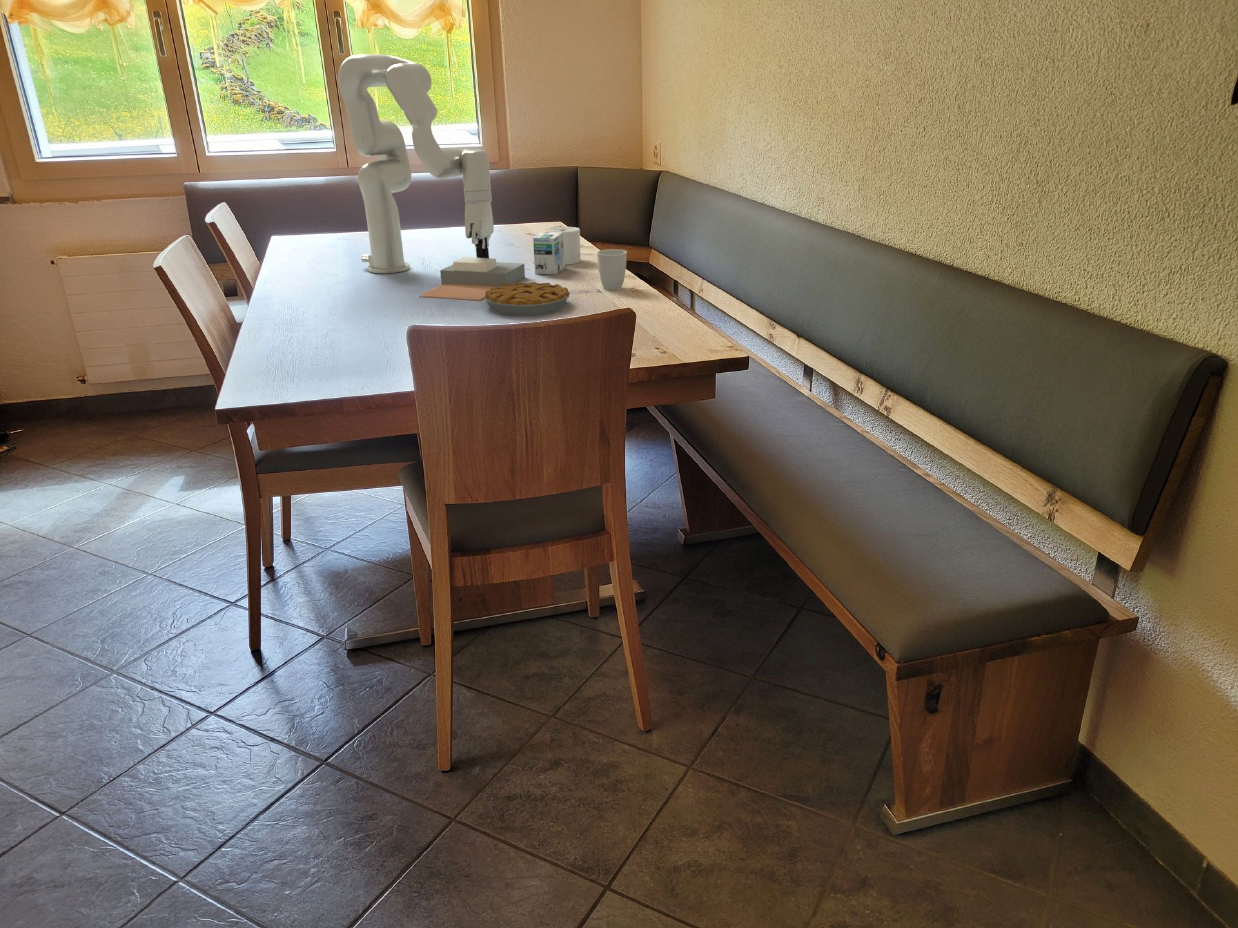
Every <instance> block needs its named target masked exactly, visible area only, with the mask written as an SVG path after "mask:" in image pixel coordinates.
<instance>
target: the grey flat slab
mask: <svg viewBox="0 0 1238 928" xmlns="http://www.w3.org/2000/svg"><path fill="white" fill-rule="evenodd" d="M525 269H526V268H525V263H521V262H517V263H516V262H503V261H501V262H499V261H496V268H494V269H492V270H490V271H488V272H474V271H456V270H454V265H453V264H451V265H448V266H446V267H444V268H442V269H440V270H439V271H440V282H441V284H440V285H442V284H444V283H447V284H463V285H480V286H497V287H501V285H503V284H509V285H511V284H515V283H516V282H520V281H521V280H523V279H524V278H526V271H525Z"/></svg>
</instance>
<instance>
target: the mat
mask: <svg viewBox="0 0 1238 928" xmlns="http://www.w3.org/2000/svg"><path fill="white" fill-rule="evenodd" d="M494 287H497V286H480V285H463V284H447V283H444V284H440V285H438V286H437V287H434V288H432V289H430V290H428V291H426V292H424V293H422V294H420V295H419V296H418V297H419V298H431V299H432V298H433V299H449V300H464V301H478V302H480V301H482V300H485V299H484V297H485V295H486V291H487V290H489V291H491V288H494Z"/></svg>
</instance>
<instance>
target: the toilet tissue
mask: <svg viewBox="0 0 1238 928" xmlns="http://www.w3.org/2000/svg"><path fill="white" fill-rule="evenodd" d="M545 232H558V233H563V245H564V266H566V265H575V264H578V263H581V262H582V260H581V259H582V257H581V230H580V228H579V227H576V226H575V227H574V226H562V225H561V224H560V225H557V226H556V225H555V226H552V227H548V228H546V229H545Z"/></svg>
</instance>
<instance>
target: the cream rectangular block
mask: <svg viewBox="0 0 1238 928" xmlns="http://www.w3.org/2000/svg"><path fill="white" fill-rule="evenodd" d="M496 262H497V258H491V257H489V258H477V257H470V256H468V257H467V256H464V257H461V258H459V259H456V260H454V261H453V262H452V263H453V264H452V265H454V270H456V271H474V272H488V271H490V270H492V269H494V268H496Z"/></svg>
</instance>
